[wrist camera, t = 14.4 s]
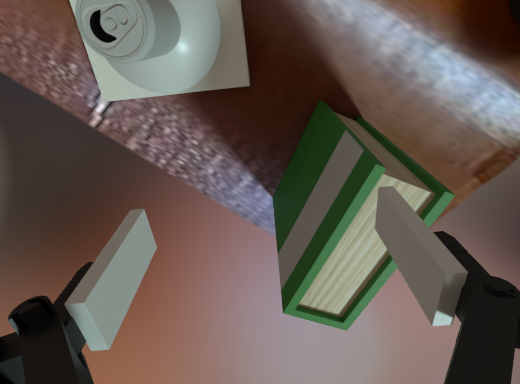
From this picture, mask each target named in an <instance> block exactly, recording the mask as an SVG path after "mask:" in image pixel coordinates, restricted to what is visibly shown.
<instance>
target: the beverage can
mask: <svg viewBox="0 0 520 384" xmlns="http://www.w3.org/2000/svg"><path fill="white" fill-rule="evenodd" d="M75 16H76V23H77V26H78V29H79V31H80V34H81V35H82V37H83V39H84V40H85V42H86V43H87V44H88V45H89V46H90V47H91V48H92V49H93V50H94V51H95V52H96V53H98V54H99V55H101V56H103V57H105V58H106V59H108V60H110V61H113V62H116V63H120V64H130V63H135V62H139V61H143V60H147V59H150V58H154V57H158V56H162V55H165V54H168V53H169V52H171V51H172V50H173V49H174V48H175V47H176V45H177V43H178V41H179V38H180V34H181V24H180V19H179V16H178V14H177V12H176V10H175V8H174V7H173V5H172V4H171V3H170V2H169V1H168V0H77V1H76V6H75Z"/></svg>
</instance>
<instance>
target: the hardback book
mask: <svg viewBox="0 0 520 384" xmlns="http://www.w3.org/2000/svg"><path fill="white" fill-rule="evenodd" d="M387 186H393V187H394V188H395V189H396V190H397V191H398V192H399V194H400V195H401V196H402V197H403V198H404V199H405V201H406V202H407V203H408V204H409V205H410V206H411V207H412V209H413V210H414V211H415V212H416V213H417V214H418V215H419V217H420V218H421V219H422V220H423V221H424V222H425V224H426V225H427V226H428V227H430V226H431V225H432V224H433V222H434V221H435V220H436V219H437V217H438V216H439V215H440V214H441V212H442V211H443V210H444V209H445V207H446V206H447V205H448V204H449V202H450V201H451V200H452V199H453V197H454V196H455V195H454V194H453V193H452V192H451V191H450V190H448V189H447V188H446V187H445V186H444V185H442V184H441V183H440V182H439V181H438V180H436V179H435V178H434V177H433V176H432V175H430V174H429V173H428V172H427V171H426V170H424V169H423V168H422V167H421V166H420V165H418V164H417V163H416V162H415V161H414V160H412V159H411V158H410V157H409V156H408V155H406V154H405V153H404V152H403V151H402V150H400V149H399V148H398V147H397V146H396V145H394V144H393V143H392V142H391V141H390V140H388V139H387V138H386V137H385V136H384V135H382V134H381V133H380V132H379V131H378V130H376V129H375V128H374V127H373V126H372V125H370V124H369V123H368V122H367V121H366V120H364V119H363V118H361V117H359V116H358V117H357V118H356V120H355V121H354V120H352V119H349V118H347V117H345V116H342V115H340V114H337V113H335V112H333V111H332V109H331V108H330V107H329V106H328V105H327V104H326V103H325V102H323V101H320V100H319V101H318V104H317V106H316V108H315V110H314V112H313V114H312V116H311V118H310V120H309V122H308V125H307V127H306V129H305V131H304V133H303V135H302V137H301V139H300V141H299V144H298V146H297V148H296V150H295V152H294V154H293V156H292V158H291V160H290V162H289V165H288V167H287V169H286V171H285V173H284V175H283V177H282V179H281V181H280V183H279V186H278V188H277V190H276V192H275V194H274V196H273V206H274V217H275V228H276V240H277V251H278V262H279V273H280V284H281V295H282V307H283V313H284V314H288V315H292V316H295V317H299V318H303V319H306V320H310V321H314V322H318V323H321V324H325V325H329V326H332V327H336V328H340V329H344V330H348V328H349V327H350V326H351V325H352V323H353V322H354V321H355V320H356V318H357V317H358V316H359V315H360V313H361V312H362V311H363V310H364V308H365V307H366V306H367V305H368V303H369V302H370V301H371V300H372V298H373V297H374V296H375V294H377V292H378V291H379V290H380V288H381V287H382V286H383V285H384V283H385V282H386V281H387V279H389V277H390V276H391V275H392V274H393V272H394V271H395V270H396V269H397V265H396V264H395V262H394V260H393V259H392V257H391V255H390V254H389V252H388V250H387V248H386V247H385V245H384V243H383V242H382V240H381V238H380V237H379V235H378V233H377V232H376V230H375V220H376V209H377V199H378V189H379V187H387Z"/></svg>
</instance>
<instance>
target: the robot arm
mask: <svg viewBox="0 0 520 384" xmlns="http://www.w3.org/2000/svg"><path fill="white" fill-rule="evenodd" d="M510 7H511V11H512V14H513V17H514V19H515V21H516V22H517V24H518V25H519V26H520V0H510ZM375 230H376V232H377V233H378V235H379V237H380V238H381V240H382V242H383V243H384V245H385V247H386V248H387V250H388V252H389V254H390V255H391V257H392V259H393V260H394V262H395V264H396V265H397V267H398V269H399V271H400V272H401V274H402V276H403V277H404V279H405V281H406V282H407V284H408V286H409V287H410V289H411V291H412V293H413V294H414V296H415V298H416V299H417V301H418V303H419V304H420V306H421V308H422V309H423V311H424V313H425V315H426V316H427V318H428V319H429V321H430V323H431V325H432V326H440V325H452V323H453V320H454V317H455V314H456V316H457V317H458V319H459V320H460V321H461V323H462V324H461V327H460V330H459V333H458V336H457V339H456V344H455V347H454V351H453V355H452V358H451V361H450V365H449V368H448V371H447V375H446V378H445V382H444V384H511V377H512V368H513V360H514V351H515V348H518V349H520V291H518V289H517V288H516V287H515V286H514V285H512V284H511V283H509V282H508V281H506V280H503V279H501V278H498V277H494V276H490V275H489V274H488V273H487V271H486V270H485V269H484V268H483V267H482V266H481V265H480V264H479V263H478V262H477V261H476V260H475V259H474V258H473V257H472V256H471V255H470V254H468V251H467V250H466V249H465V248H464V247H462V245H461V244H460V243H459V242H458V241H457V240H456V239H455V238H454V237H452V236H451V235H449V234H447V233H446V232H444V231H439V232H432V230H431V229H430V228H429V227H428V226H427V225H426V224H425V222H424V221H423V220H422V219H421V218H420V217H419V215H418V214H417V213H416V212H415V211H414V210H413V209H412V207H411V206H410V205H409V204H408V203H407V202H406V201H405V199H404V198H403V197H402V196H401V195H400V194H399V192H398V191H397V190H396V189H395V188H394V187H393V186H387V187H379V189H378V199H377V209H376V220H375ZM156 248H157V246H156V243H155V241H154V238H153V234H152V232H151V229H150V226H149V223H148V220H147V217H146V214H145V211H144V209H139V210H131V211H130V212H129V213H128V215H127V216H126V218H125V219H124V220H123V222H122V223H121V225H120V226H119V228H118V229H117V230H116V232H115V233H114V235H113V236H112V237H111V239H110V240H109V242H108V243H107V245H106V246H105V247H104V249H103V250H102V252H101V253H100V254H99V256H98V257H97V259H96V260H95V261H94V262H88V263H87V264H86V265H84V266H83V267H82V268H81V269H79V270H78V271H77V273H76V274H75V275H74V277H73V278H72V280H71V281H70V282H69V284H68V285H67V287H66V288H65V289H64V290H63V291H62V293H61V294H60V295H59V297H58V298H57V300H56V301H55V302H54V304H52V303H51V301H50V299H48V297H47V296H37V297H33V298H31V299H28V300H26V301H24V302H23V303H21V304H20V305H18V306H17V307H16V308H15V309H14V310H13V311H12V312H11V314H10V315H9V318H8V321H9V323H10V324H11V325H12V327H13V328H14V329H15V331H16V332H15V333H12V334H8V335H5V336H2V337H0V384H94V383H93V380H92V377H91V374H90V371H89V368H88V365H87V362H86V360H85V357H84V355H83V353H82V351H81V350H82V348H83V346H84V345H85V343H86V342H87V344H88V346H89V348H90V349H91V351H95V350H109V349H110V347H111V345H112V343H113V341H114V338H115V336H116V334H117V332H118V330H119V328H120V325H121V323H122V321H123V319H124V317H125V315H126V313H127V310H128V308H129V306H130V304H131V302H132V300H133V298H134V295H135V293H136V291H137V289H138V287H139V285H140V283H141V280H142V278H143V276H144V274H145V272H146V270H147V267H148V265H149V263H150V261H151V259H152V257H153V254H154V252H155V250H156Z"/></svg>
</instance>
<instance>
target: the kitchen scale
mask: <svg viewBox="0 0 520 384" xmlns="http://www.w3.org/2000/svg"><path fill="white" fill-rule="evenodd" d="M69 1H70V4H71V7H72V10H73V12H74V15H75V6H76V1H77V0H69ZM168 1H169V2H170V3H171V4H172V5H173V7H174V8H175V10H176V12H177V14H178V16H179V19H180V24H181V34H180V38H179V41H178V43H177V45H176V47H175V48H174V49H173V50H172V51H171V52H169V53H168V54H165V55H162V56H158V57H154V58H150V59H147V60H143V61H139V62H135V63H130V64H120V63H116V62H113V61H110V60H108V59H106V58H105V57H103V56H101V55H99V54H98V53H96V52H95V51H94V50H93V49H92V48H91V47H90V46H89V45H88V44H87V43H86V42H85V40H84V39H83V37H82V39H83V42H84V45H85V48H86V50H87V53H88V56H89V59H90V62H91V65H92V68H93V71H94V74H95V77H96V80H97V83H98V85H99V88H100V91H101V94H102V97H103V100H104V102H107V101H116V100H125V99H134V98H144V97H153V96H162V95H171V94H180V93H189V92H199V91H208V90H217V89H226V88H235V87H244V86H250V77H249V68H248V59H247V50H246V41H245V32H244V23H243V14H242V5H241V0H168ZM75 18H76V16H75ZM81 36H82V35H81Z"/></svg>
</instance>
